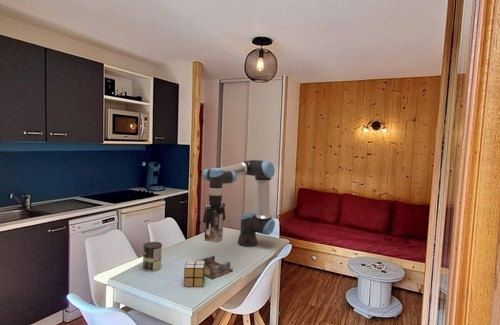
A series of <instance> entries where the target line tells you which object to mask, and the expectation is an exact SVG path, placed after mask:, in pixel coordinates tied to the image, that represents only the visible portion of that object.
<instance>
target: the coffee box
mask: <svg viewBox="0 0 500 325" xmlns="http://www.w3.org/2000/svg"><path fill="white" fill-rule="evenodd" d="M209 224H211V227H210V235H207V234H206V223H204V241H206V242H211V243H221V241H223V234H224V229H223V228H224V221H223V213H217V212H216V211H214V213H213V215H212V218H211V221H210V223H209Z"/></svg>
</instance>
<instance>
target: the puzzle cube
mask: <svg viewBox="0 0 500 325" xmlns="http://www.w3.org/2000/svg"><path fill="white" fill-rule="evenodd" d="M183 277H184V278H183V287H184V288H185V287H186V288H190V287H196V288H197V287H199V288H203V286H204V284H205V277H206V276H205V261H197V260H187V261H186V262H185V266H184V271H183Z"/></svg>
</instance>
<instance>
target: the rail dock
mask: <svg viewBox="0 0 500 325" xmlns="http://www.w3.org/2000/svg"><path fill="white" fill-rule="evenodd" d="M215 257H216V256H215V255H210V256H206V257H204V258H201V259H197V260H196V261H205V277H206V278H208V279H210V280H212V281H213V280H215V279H218V278H220V277H222V276H225V275H228V274H230V273H232V272H234V271H233V270H234V269H233V268H231V262H230V261H226V262H224V263H219V262H217V261H215V260H216V258H215Z"/></svg>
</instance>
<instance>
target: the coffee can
mask: <svg viewBox="0 0 500 325" xmlns="http://www.w3.org/2000/svg"><path fill="white" fill-rule="evenodd" d="M162 246H163V243H162V242H159V241H148V242H146V243H144V244H143V245H142V247H143V254H142V255H143V256H142V257H143V259H142V261H143V262H142V270H143V271H144V272H148V273H151V272H152V273H153V272H154V273H155V272H157V271H160V270H161V269H162Z"/></svg>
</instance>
